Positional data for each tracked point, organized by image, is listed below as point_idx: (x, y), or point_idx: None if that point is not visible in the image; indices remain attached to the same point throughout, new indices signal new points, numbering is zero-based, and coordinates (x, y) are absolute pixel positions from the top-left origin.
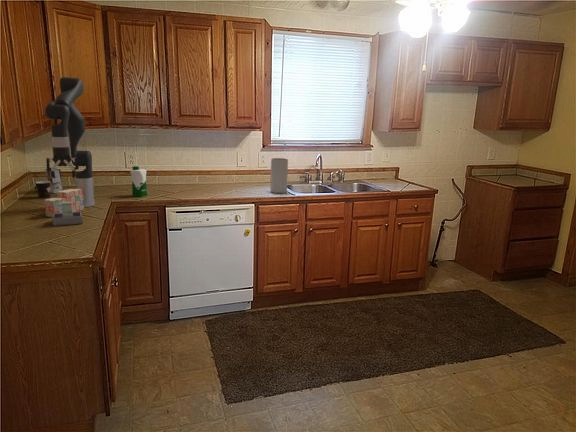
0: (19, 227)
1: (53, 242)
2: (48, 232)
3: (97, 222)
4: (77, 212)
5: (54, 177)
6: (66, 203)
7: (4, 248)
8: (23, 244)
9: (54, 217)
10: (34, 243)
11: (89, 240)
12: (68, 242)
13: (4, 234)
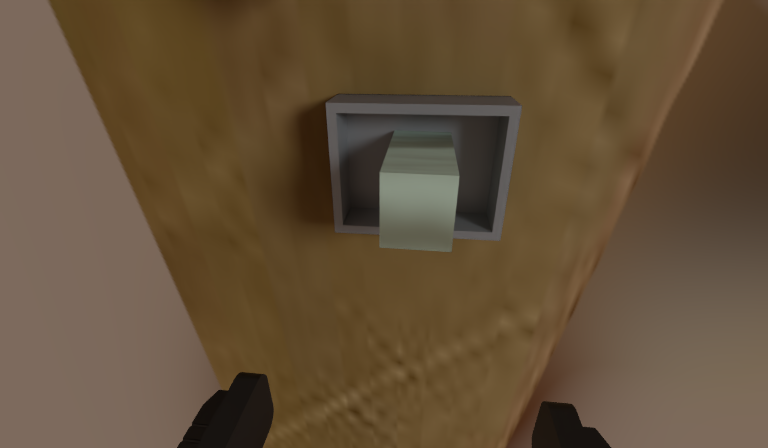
0: (188, 179)
1: (363, 415)
2: (335, 305)
3: (577, 215)
4: (491, 114)
5: (260, 434)
6: (415, 239)
7: None
8: (275, 400)
9: (341, 159)
10: (306, 403)
11: (477, 437)
12: (409, 430)
13: (169, 272)
